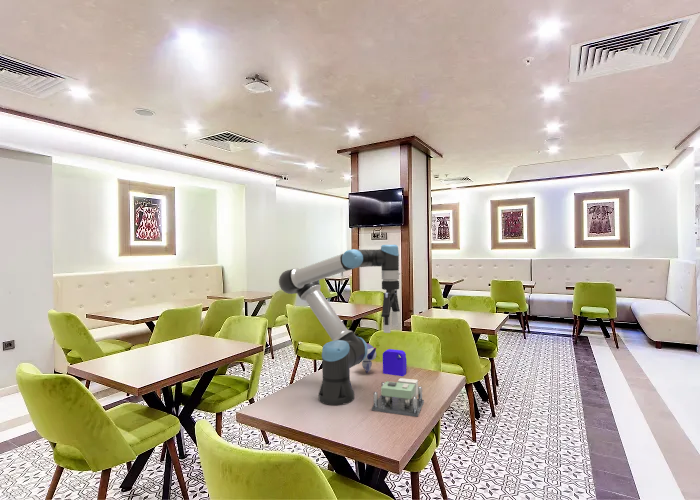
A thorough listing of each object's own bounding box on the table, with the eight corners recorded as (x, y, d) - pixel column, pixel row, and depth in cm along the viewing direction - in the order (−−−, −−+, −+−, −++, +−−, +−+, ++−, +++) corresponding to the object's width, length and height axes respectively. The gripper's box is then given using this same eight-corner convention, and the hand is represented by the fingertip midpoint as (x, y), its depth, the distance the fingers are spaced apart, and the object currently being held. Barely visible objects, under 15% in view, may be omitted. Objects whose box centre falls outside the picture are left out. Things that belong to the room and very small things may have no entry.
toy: (354, 370, 195) (354, 342, 195) (372, 368, 198) (371, 340, 198) (361, 377, 185) (360, 347, 185) (379, 375, 188) (379, 345, 188)
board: (381, 395, 148) (381, 385, 148) (386, 388, 155) (386, 379, 155) (411, 399, 143) (411, 389, 143) (415, 391, 151) (414, 382, 151)
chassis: (371, 410, 146) (371, 393, 146) (381, 397, 159) (381, 381, 159) (417, 416, 139) (417, 399, 139) (423, 402, 152) (423, 386, 153)
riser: (398, 394, 161) (397, 380, 161) (400, 391, 165) (399, 378, 165) (416, 397, 159) (416, 382, 159) (418, 393, 162) (417, 379, 162)
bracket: (403, 376, 185) (402, 353, 186) (382, 373, 190) (382, 350, 190) (413, 366, 202) (413, 344, 202) (394, 364, 206) (394, 343, 207)
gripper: (391, 282, 148) (392, 335, 148) (405, 278, 171) (405, 324, 171) (373, 282, 150) (374, 334, 150) (389, 278, 174) (390, 323, 174)
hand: (391, 329), depth 161 cm, fingers open, 13 cm apart
